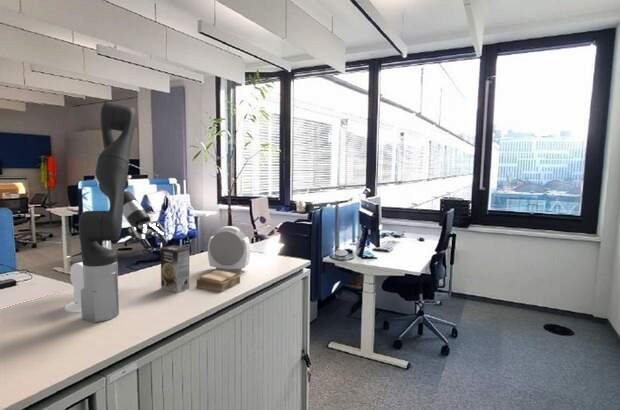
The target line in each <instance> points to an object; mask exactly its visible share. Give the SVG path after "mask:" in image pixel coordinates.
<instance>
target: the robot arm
mask: <svg viewBox="0 0 620 410" xmlns="http://www.w3.org/2000/svg"><path fill="white" fill-rule="evenodd" d="M99 117H100V127H101V128H100V129H101V137H102V143H103V150H102V151H101V152H100V154H98V157H97V162H96V167H95V177H96V179H97V182H98V187H99V190H100V191H101V193H102V194H104V195H105V196H106V197H107V198H108V200H109V201H108V202H109V209H108V210H85V211H83V212H82V213H81V214H80V216H79V220H78V232H79V233H78V234H79V241H80V242H79V243H80V255H81V259H82V260H83V280H84V288H83V289H81V308H82V312H81V320H84V321H88V322H91V323H95V324H96V323H99V322H103V321H108V320H111V319H113V318H115V317H116V318H117V316H118V315H119V314H120V305H119V303H120V302H119V301H120V299H119V274H118V270H119V268H118V253H117V252H116V251H115V250H113V249H110V248H107V247H104V246H102V245H101V244H99V242H108V241H109V242H111V241H117V240H118V239H119V238H120V236H121V233H122V228H123V227H122V226H123V217H124V218H125V220H126V221H127V222H128V224H129V226H130V227H129V228H128V230H127V232H128V234H129V235H130V237H131V239H132V240H133V242H134V243H137V242H139V243H141V246H143V248H144V249H146V250H147V251H148V250H150V248H151V247H152V246H151V245H152V244H150V242H149V241H148V239H147V238H146V237H147V236H152V237H156V238H158V239H159V241H160V242H161V243H162V245H163V246H166V245H167V244H168V243H169V241H168V239H167V237H166V236H165V235H166V233H167V230H166V229H165V228H164V227H163V225H162V224H161V223H160V222H159V221H156V222H155V223H153V222H152V221H151V217H150V215H149V214H148V213H147V212H146V210H145V208H144V207H143V206H142V205H141V203H140V202H139V201H138V200H137V198H136V197H135V196H134V194H133V193H132V192H131V191H129V190H128V191H127V189H128V187H129V180H128V173H129V167H130V155H131V148H132V142H133V137H134V132H135V128H136V124H137V123H136V122H137V110H136V109H135V108H134V107H133V106H129V105H124V104H119V103H113V102H106V101H105V102H104V103H103V104H102V105H101V108H100V115H99ZM112 130H113V131H118V132H121V133H120V135H119V136H118V138H115V137H114V134H113V131H112Z"/></svg>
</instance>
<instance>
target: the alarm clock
mask: <svg viewBox="0 0 620 410" xmlns="http://www.w3.org/2000/svg"><path fill="white" fill-rule="evenodd" d="M250 255H251V241H250V239H249V236H246V234H245V233H244V232H243V231H242V230H240V228H238V227H237V226H232V225H228V226H227V225H226V226H223V227H221V228H219V229H218V231H217V232H216V233H215V234H214V235H213V236H211V237H210V238H209V240H208V244H207V258H208V262H209V263H208V264H209V267H213V268H215V270H219V271H225V272H231V273H236V274H239V273H240V272H241V271H242V270H243V269H245V268H247V267H248V265H249V262H250Z"/></svg>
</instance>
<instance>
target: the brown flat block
mask: <svg viewBox="0 0 620 410" xmlns="http://www.w3.org/2000/svg"><path fill="white" fill-rule="evenodd" d="M238 283H239V284H240V283H241V276H240V275H238V273H234V272H225V271H219V270H216V269H215V270H212V271H211V272H208V273H205V274H202V275H201V276H199V278H198V279H196V288H199V289H205V290H210V291H215V292H219V293H223V292H225V291H226V290H228V289H231V288H233V287H235V286H236V284H237V285H239V284H238Z"/></svg>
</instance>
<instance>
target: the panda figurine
mask: <svg viewBox="0 0 620 410" xmlns="http://www.w3.org/2000/svg"><path fill="white" fill-rule="evenodd" d="M69 265H70V266H71V267H70V273H69V275H70V277H69V278H70V281H71V284H72V286H73V301H71V302H69V303H68V304H66V306H65V307H64V310H65V311H66V312H67V313H82V308H81V289H83V288H84V280H83V260H82V258H78V259H74V260H73V259H72V260H70V262H69Z"/></svg>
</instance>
